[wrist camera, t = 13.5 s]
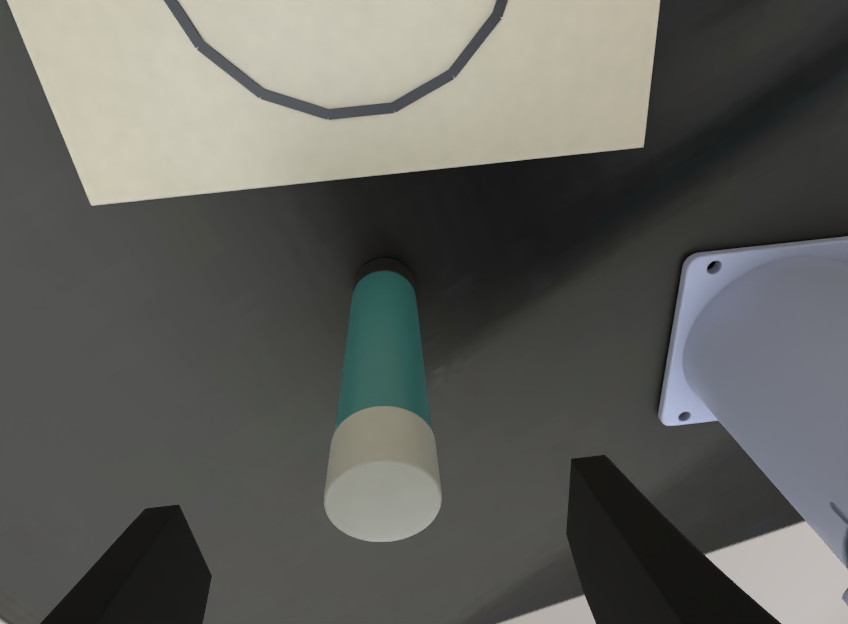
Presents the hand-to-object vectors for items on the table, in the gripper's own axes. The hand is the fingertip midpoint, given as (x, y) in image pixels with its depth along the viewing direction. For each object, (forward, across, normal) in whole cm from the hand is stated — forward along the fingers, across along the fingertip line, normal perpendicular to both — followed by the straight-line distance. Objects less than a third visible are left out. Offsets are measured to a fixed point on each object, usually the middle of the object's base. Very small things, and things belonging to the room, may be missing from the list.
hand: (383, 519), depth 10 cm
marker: (+10, 0, 0) cm, 10 cm away
